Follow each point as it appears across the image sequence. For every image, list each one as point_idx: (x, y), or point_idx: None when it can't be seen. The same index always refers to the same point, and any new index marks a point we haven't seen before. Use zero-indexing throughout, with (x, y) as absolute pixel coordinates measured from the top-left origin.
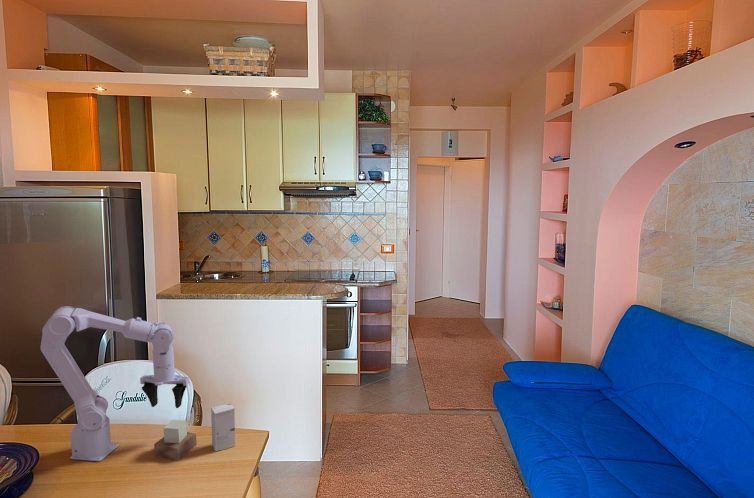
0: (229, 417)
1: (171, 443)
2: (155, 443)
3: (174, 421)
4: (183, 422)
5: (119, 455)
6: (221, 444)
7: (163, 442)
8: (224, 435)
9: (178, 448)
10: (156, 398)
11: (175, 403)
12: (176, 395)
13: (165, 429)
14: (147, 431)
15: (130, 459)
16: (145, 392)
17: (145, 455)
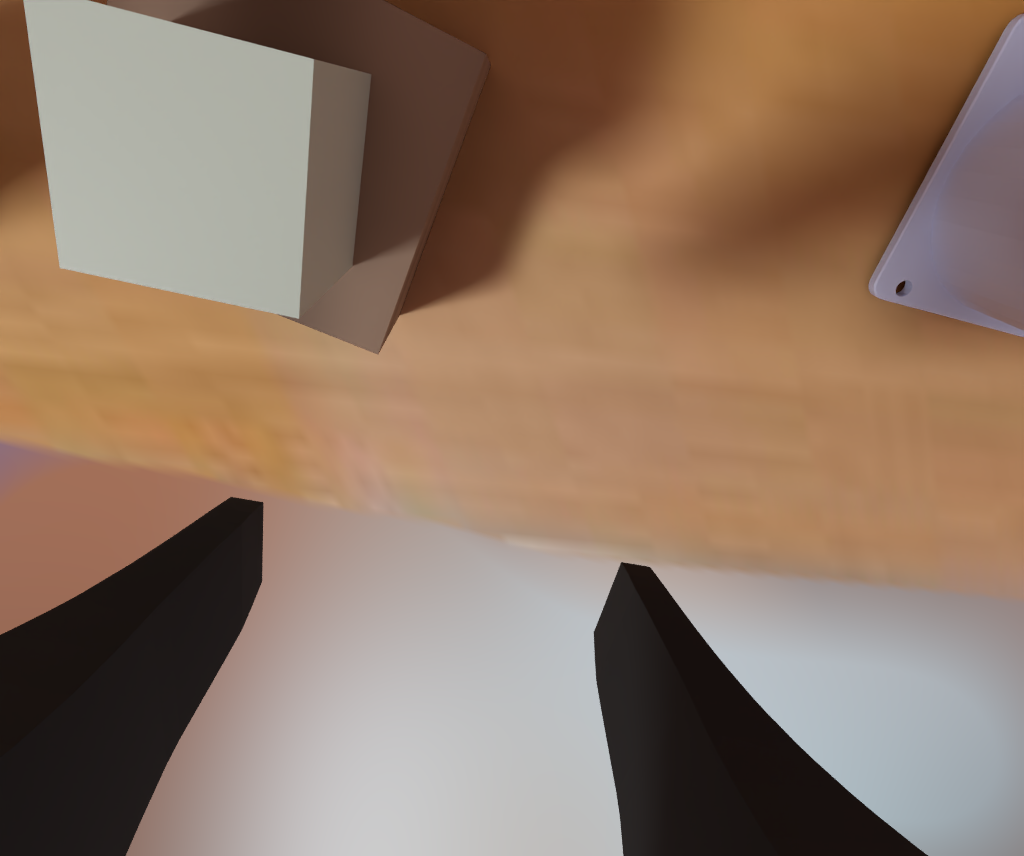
0: None
1: (268, 31)
2: (474, 65)
3: (233, 264)
4: (69, 214)
5: (837, 119)
6: None
7: (382, 76)
8: None
9: None
10: (612, 703)
11: (209, 540)
12: (25, 664)
13: (287, 54)
14: (668, 471)
15: (718, 21)
16: (857, 813)
17: (586, 82)
